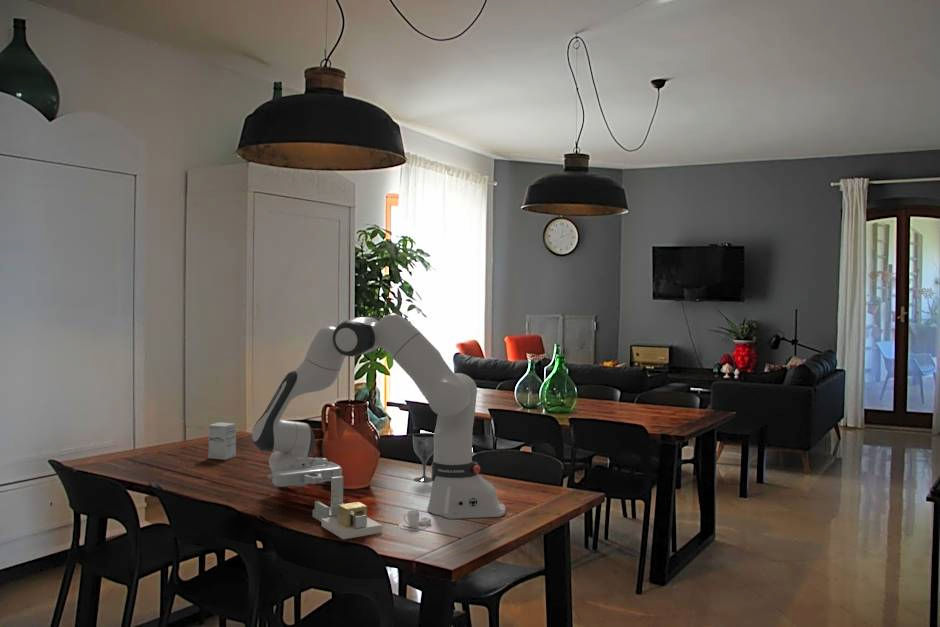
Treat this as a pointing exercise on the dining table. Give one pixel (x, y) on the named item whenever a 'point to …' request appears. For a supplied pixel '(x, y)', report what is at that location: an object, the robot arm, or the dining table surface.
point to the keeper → (345, 512)
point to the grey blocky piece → (321, 511)
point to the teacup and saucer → (415, 520)
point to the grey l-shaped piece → (337, 499)
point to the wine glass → (423, 451)
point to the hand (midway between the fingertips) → (318, 480)
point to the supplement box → (222, 441)
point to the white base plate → (351, 528)
